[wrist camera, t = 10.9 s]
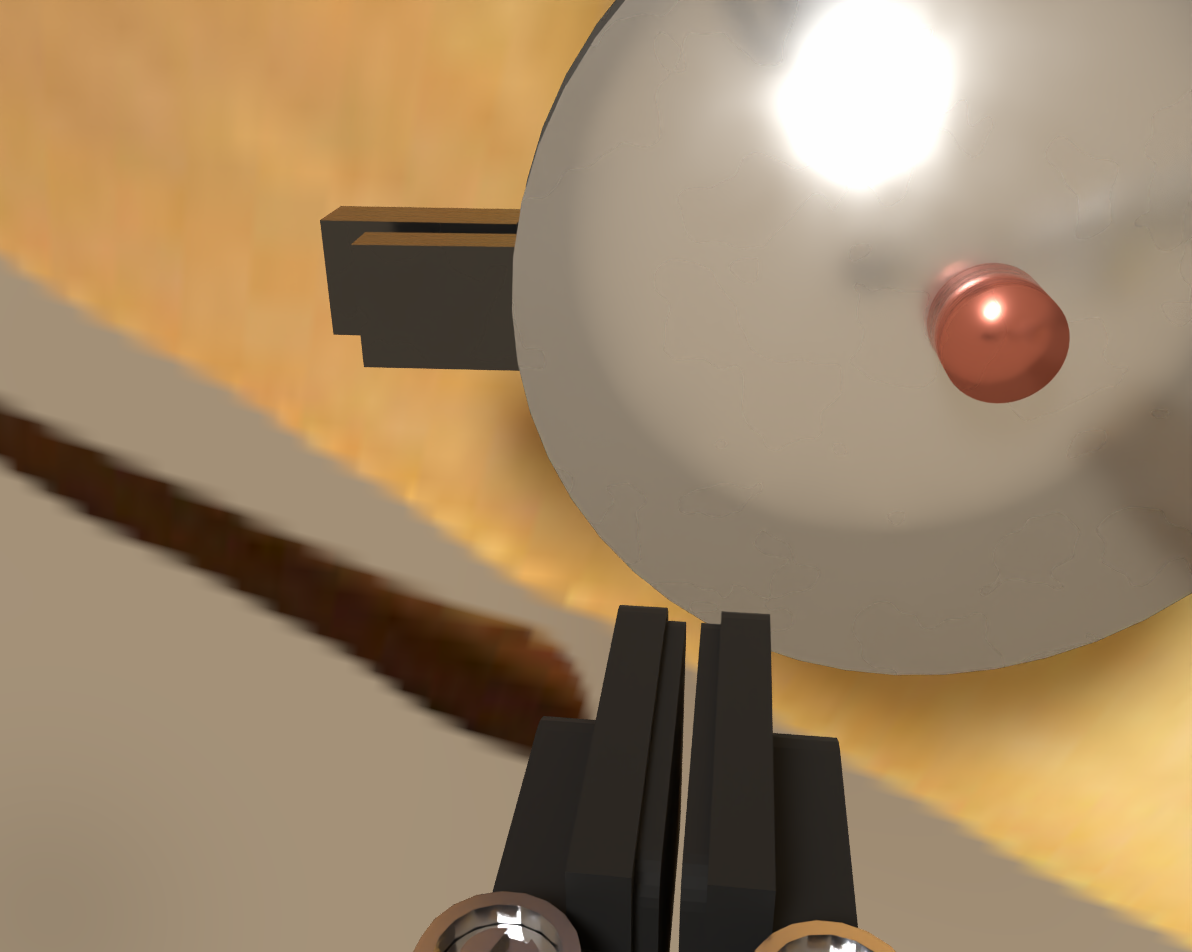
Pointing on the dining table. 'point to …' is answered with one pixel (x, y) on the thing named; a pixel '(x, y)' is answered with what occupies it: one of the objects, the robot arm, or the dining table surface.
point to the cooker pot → (411, 224)
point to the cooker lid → (853, 316)
